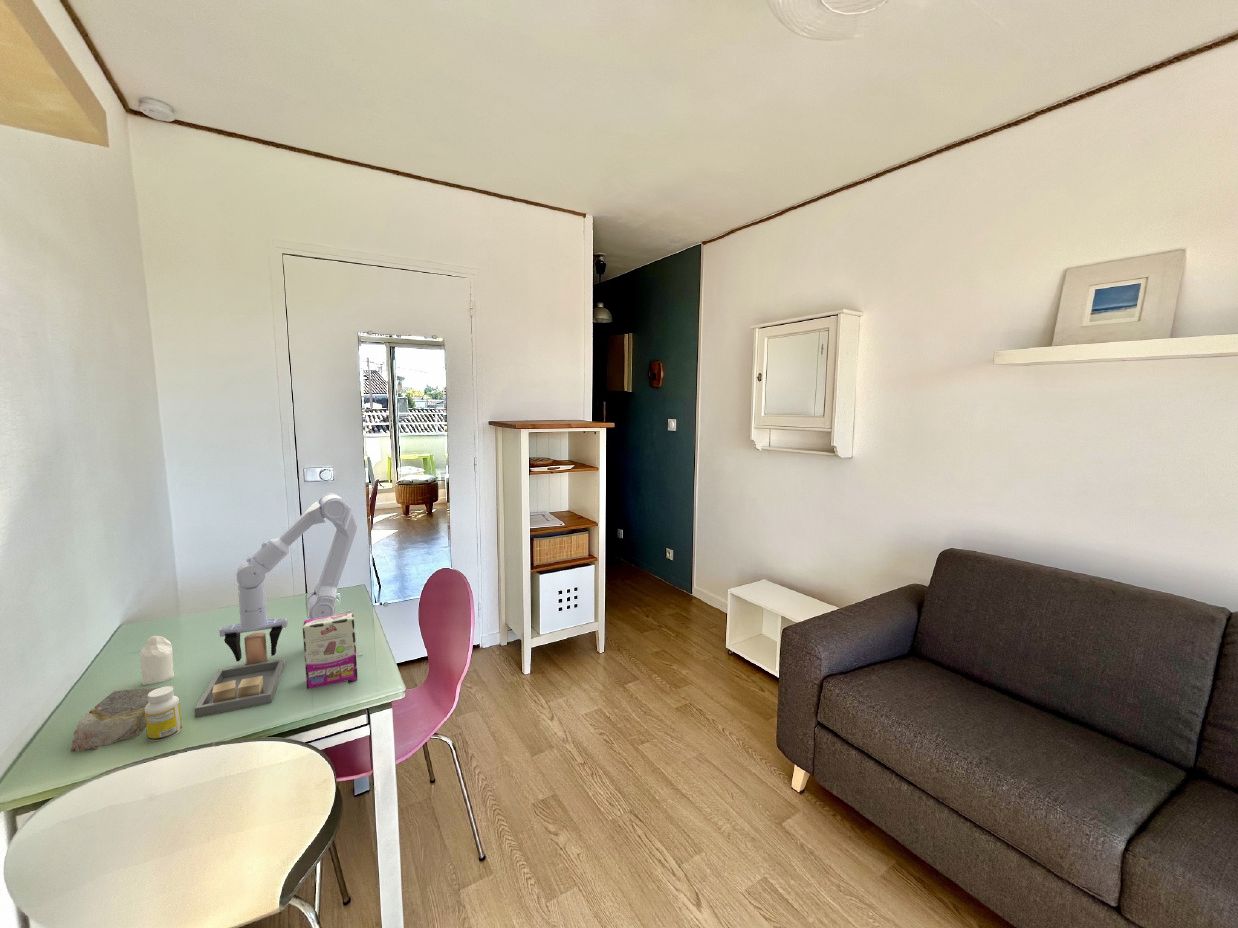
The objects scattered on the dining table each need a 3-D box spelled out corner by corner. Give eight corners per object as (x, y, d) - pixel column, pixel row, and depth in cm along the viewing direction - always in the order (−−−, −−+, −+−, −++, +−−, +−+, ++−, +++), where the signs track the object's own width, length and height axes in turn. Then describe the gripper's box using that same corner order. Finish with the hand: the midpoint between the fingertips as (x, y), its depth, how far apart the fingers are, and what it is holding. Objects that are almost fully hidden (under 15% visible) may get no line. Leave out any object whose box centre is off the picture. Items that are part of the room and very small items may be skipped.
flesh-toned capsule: (269, 659, 139) (267, 631, 138) (265, 667, 135) (263, 638, 134) (248, 662, 137) (246, 634, 136) (244, 670, 133) (242, 641, 132)
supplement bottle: (161, 727, 109) (157, 684, 108) (188, 726, 110) (184, 683, 109) (140, 744, 104) (135, 698, 103) (168, 742, 105) (164, 697, 103)
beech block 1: (236, 695, 120) (235, 679, 120) (235, 704, 117) (234, 687, 117) (215, 701, 118) (213, 684, 118) (213, 709, 115) (212, 693, 114)
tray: (284, 668, 134) (284, 658, 134) (271, 704, 118) (270, 694, 118) (219, 679, 129) (218, 669, 128) (195, 719, 112) (194, 708, 112)
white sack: (165, 627, 130) (174, 632, 128) (169, 671, 132) (178, 678, 129) (134, 636, 125) (142, 642, 122) (138, 682, 127) (147, 689, 124)
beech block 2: (263, 691, 122) (262, 675, 122) (260, 700, 119) (258, 684, 118) (243, 695, 121) (242, 679, 120) (239, 704, 117) (237, 687, 117)
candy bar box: (357, 671, 133) (354, 611, 131) (357, 680, 129) (355, 618, 127) (307, 681, 128) (303, 618, 126) (306, 691, 124) (302, 626, 122)
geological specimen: (173, 682, 118) (133, 717, 104) (174, 708, 119) (134, 746, 104) (115, 688, 115) (66, 724, 101) (116, 714, 115) (67, 754, 101)
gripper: (288, 598, 141) (291, 645, 142) (223, 606, 135) (227, 655, 136) (283, 607, 134) (286, 656, 136) (215, 616, 128) (219, 667, 130)
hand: (256, 656), depth 136 cm, fingers open, 7 cm apart
